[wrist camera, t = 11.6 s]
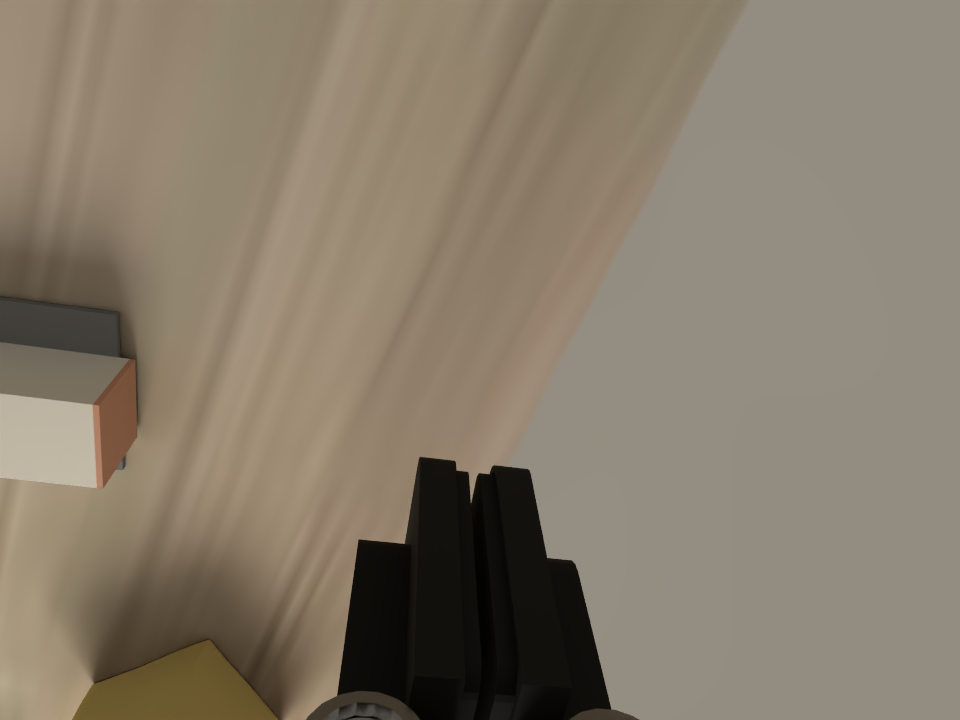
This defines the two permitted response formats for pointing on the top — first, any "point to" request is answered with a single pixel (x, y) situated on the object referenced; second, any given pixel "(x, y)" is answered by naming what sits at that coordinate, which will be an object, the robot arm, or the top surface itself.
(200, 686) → the cheese
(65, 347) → the mat
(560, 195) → the top surface
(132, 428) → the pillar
